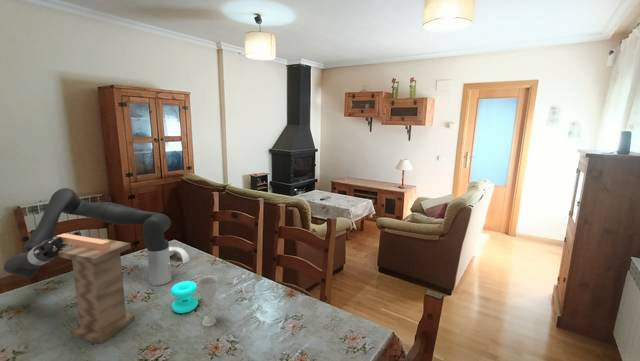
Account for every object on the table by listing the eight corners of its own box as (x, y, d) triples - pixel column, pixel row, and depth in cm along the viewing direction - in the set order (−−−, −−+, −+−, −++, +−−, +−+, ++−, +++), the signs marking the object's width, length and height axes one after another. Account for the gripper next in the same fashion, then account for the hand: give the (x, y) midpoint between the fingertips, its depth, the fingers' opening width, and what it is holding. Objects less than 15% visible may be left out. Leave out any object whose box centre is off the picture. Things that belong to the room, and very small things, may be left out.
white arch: (148, 258, 174) (147, 246, 173) (165, 251, 185) (165, 239, 183) (178, 267, 165) (178, 254, 164) (195, 258, 176) (195, 247, 174)
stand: (69, 334, 111) (58, 251, 105) (105, 312, 124) (97, 237, 118) (103, 344, 107) (93, 258, 101) (137, 320, 120) (130, 243, 114)
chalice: (222, 319, 122) (221, 277, 119) (211, 329, 116) (209, 285, 113) (207, 314, 125) (205, 273, 121) (195, 325, 118) (193, 282, 115)
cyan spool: (165, 288, 125) (185, 277, 134) (166, 310, 127) (186, 298, 136) (182, 294, 121) (202, 283, 130) (184, 317, 123) (203, 304, 132)
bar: (56, 242, 113) (55, 235, 112) (65, 239, 116) (64, 233, 115) (102, 250, 107) (101, 244, 106) (110, 247, 110) (109, 240, 109)
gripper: (17, 250, 111) (43, 233, 105) (60, 237, 124) (85, 221, 119) (27, 269, 111) (53, 252, 106) (69, 253, 125) (94, 238, 119)
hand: (70, 236), depth 112 cm, fingers open, 5 cm apart
